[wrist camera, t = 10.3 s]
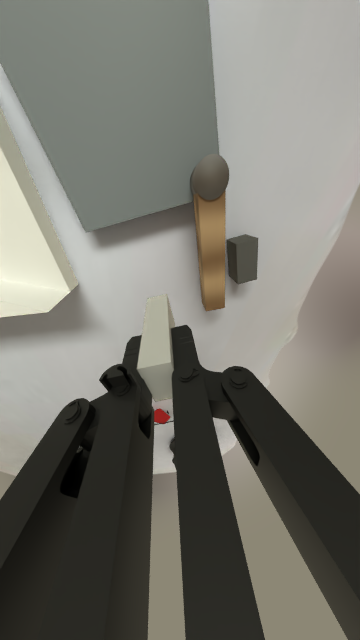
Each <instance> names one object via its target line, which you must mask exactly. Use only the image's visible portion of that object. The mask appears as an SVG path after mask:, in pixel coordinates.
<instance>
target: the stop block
mask: <svg viewBox="0 0 360 640" xmlns="http://www.w3.org/2000/svg"><path fill="white" fill-rule="evenodd" d="M227 252H228V267H229V276H230V277H231V278H232V279H233V280H234V281H235V282H236V283H237V284H241V283H245V282H249V281H252V280H256V279H257V257H258V238H256V237H252V236H249V235H246V234H245V235H242V236H238V237H234V238H231V239H227Z"/></svg>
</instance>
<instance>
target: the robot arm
mask: <svg viewBox="0 0 360 640" xmlns="http://www.w3.org/2000/svg"><path fill="white" fill-rule="evenodd" d="M99 381H100V382H101V383H102V384H103V386H104V387H105V388H106V389H107V390H108V393H106V394H104V395H103V396H101V397H99V398H97V399H95V400H93V401H91V402H89V401H88V400H87V399H84V398H80V399H76V400H74V401H72V402H70V403H69V404H68V405H67V406H65V407H64V408H63V410H62V411H61V412H60V413H59V415H58V416H57V418H56V419H55V421H54V422H53V424H52V425H51V426H50V428H49V429H48V431H47V432H46V434H45V435H44V437H43V438H42V440H41V441H40V443H39V444H38V445H37V447H36V448H35V450H34V451H33V453H32V454H31V456H30V457H29V459H28V460H27V462H26V463H25V465H24V466H23V467H22V469H21V470H20V472H19V473H18V475H17V476H16V478H15V479H14V481H13V482H12V484H11V485H10V487H9V488H8V489H7V491H6V492H5V494H4V495H3V497H2V498H1V500H0V640H147V638H148V604H149V573H150V541H151V509H152V508H151V507H152V477H153V476H152V475H153V445H154V409H153V407H152V397H153V399H154V401H155V402H156V401H161V400H166V399H171V398H173V415H174V433H175V452H176V470H177V488H178V506H179V525H180V543H181V561H182V580H183V598H184V616H185V633H186V640H265V638H264V633H263V629H262V625H261V621H260V617H259V612H258V608H257V604H256V600H255V595H254V591H253V587H252V583H251V579H250V574H249V570H248V566H247V562H246V557H245V553H244V549H243V545H242V541H241V536H240V532H239V528H238V524H237V519H236V516H235V511H234V507H233V503H232V499H231V494H230V490H229V486H228V481H227V477H226V474H225V469H224V465H223V460H222V456H221V452H220V448H219V443H218V439H217V435H216V431H215V427H214V422H213V418H212V417H214V418H219V419H225V420H227V421H228V423H229V425H230V427H231V429H232V430H233V432H234V434H235V436H236V438H237V439H238V441H239V443H240V445H241V447H242V448H243V450H244V452H245V454H246V456H247V458H248V459H249V461H250V463H251V465H252V467H253V468H254V470H255V472H256V474H257V476H258V477H259V479H260V481H261V483H262V485H263V487H264V488H265V490H266V492H267V494H268V496H269V497H270V499H271V501H272V503H273V505H274V507H275V508H276V510H277V512H278V513H279V516H280V517H281V519H282V521H283V523H284V525H285V526H286V528H287V530H288V532H289V534H290V535H291V537H292V539H293V541H294V543H295V544H296V546H297V548H298V550H299V552H300V554H301V555H302V557H303V559H304V561H305V563H306V564H307V566H308V568H309V570H310V572H311V574H312V575H313V577H314V579H315V581H316V583H317V584H318V586H319V588H320V590H321V592H322V593H323V595H324V597H325V599H326V601H327V602H328V604H329V606H330V608H331V610H332V611H333V613H334V615H335V617H336V619H337V621H338V622H339V624H340V626H341V628H342V630H343V631H344V633H345V635H346V637H347V638H348V640H360V494H359V493H358V492H357V491H356V490H355V489H354V487H353V486H352V485H351V484H350V483H349V482H348V481H347V480H346V478H345V477H344V476H343V475H342V474H341V473H340V472H339V471H338V469H337V468H336V467H335V466H334V465H333V464H332V463H331V461H330V460H329V459H328V458H327V457H326V456H325V455H324V453H322V451H321V450H320V449H319V448H318V447H317V446H316V445H315V443H314V442H313V441H312V440H311V439H310V438H309V437H308V435H307V434H306V433H305V432H304V431H303V430H302V429H301V428H300V426H299V425H298V424H297V423H296V422H295V421H294V420H293V418H292V417H291V416H290V415H289V414H288V413H287V412H286V410H284V408H283V407H282V406H281V405H280V404H279V403H278V401H277V400H276V399H275V398H274V397H273V396H272V395H271V393H270V392H269V391H268V390H267V389H266V388H265V387H264V386H263V384H262V383H261V382H260V381H259V380H258V379H257V378H256V376H255V375H254V374H253V373H252V372H250V371H249V370H248V369H246V368H243V367H240V366H233V367H229V368H227V369H226V370H224V372H223V373H221V372H212V371H209V370H206V369H205V368H203V367H202V366H201V365H200V363H199V360H198V356H197V352H196V348H195V344H194V339H193V335H192V331H191V329H190V328H189V327H188V326H187V325H183V326H179V327H175V322H174V318H173V315H172V311H171V307H170V304H169V300H168V297H167V294H165V295H160V296H156V297H152V298H147V305H146V312H145V318H144V325H143V332H142V335H140V336H135V337H132V338H131V339H130V340H129V342H128V343H127V346H126V351H125V354H124V358H123V362H122V364H117V365H114V366H112V367H110V368H109V369H107V370H106V371H105V372H104V373H103V374H102V376H101V378H100V379H99ZM79 446H80V447H79Z"/></svg>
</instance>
